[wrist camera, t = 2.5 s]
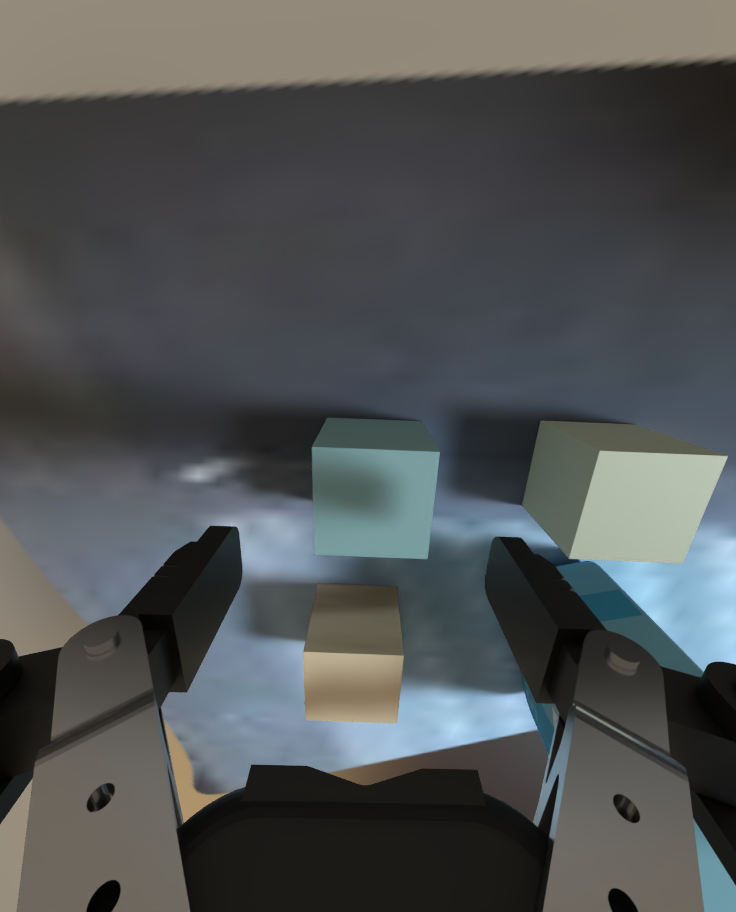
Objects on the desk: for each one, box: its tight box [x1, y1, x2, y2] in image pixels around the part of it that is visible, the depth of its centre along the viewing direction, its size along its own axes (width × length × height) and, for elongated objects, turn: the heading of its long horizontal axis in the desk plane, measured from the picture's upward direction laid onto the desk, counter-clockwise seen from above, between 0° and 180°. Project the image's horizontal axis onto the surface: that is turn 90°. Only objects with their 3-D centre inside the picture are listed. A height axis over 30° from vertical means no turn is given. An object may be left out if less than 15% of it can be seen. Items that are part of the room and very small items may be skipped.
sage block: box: [522, 421, 728, 563], centre depth 16 cm, size 5×5×5 cm
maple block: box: [303, 583, 404, 723], centre depth 20 cm, size 5×5×5 cm
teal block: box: [312, 418, 440, 559], centre depth 16 cm, size 5×5×5 cm
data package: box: [522, 561, 736, 912], centre depth 17 cm, size 12×4×12 cm, turn 13°
